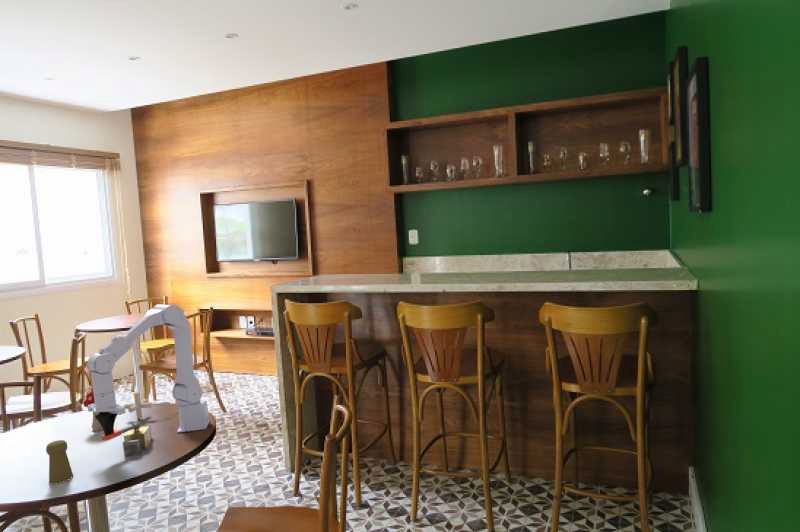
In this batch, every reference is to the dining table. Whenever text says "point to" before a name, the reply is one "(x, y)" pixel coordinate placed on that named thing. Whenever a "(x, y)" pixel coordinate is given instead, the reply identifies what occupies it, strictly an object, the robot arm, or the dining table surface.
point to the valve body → (136, 440)
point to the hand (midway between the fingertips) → (109, 435)
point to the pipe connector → (138, 405)
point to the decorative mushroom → (95, 425)
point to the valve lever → (120, 431)
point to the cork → (58, 462)
